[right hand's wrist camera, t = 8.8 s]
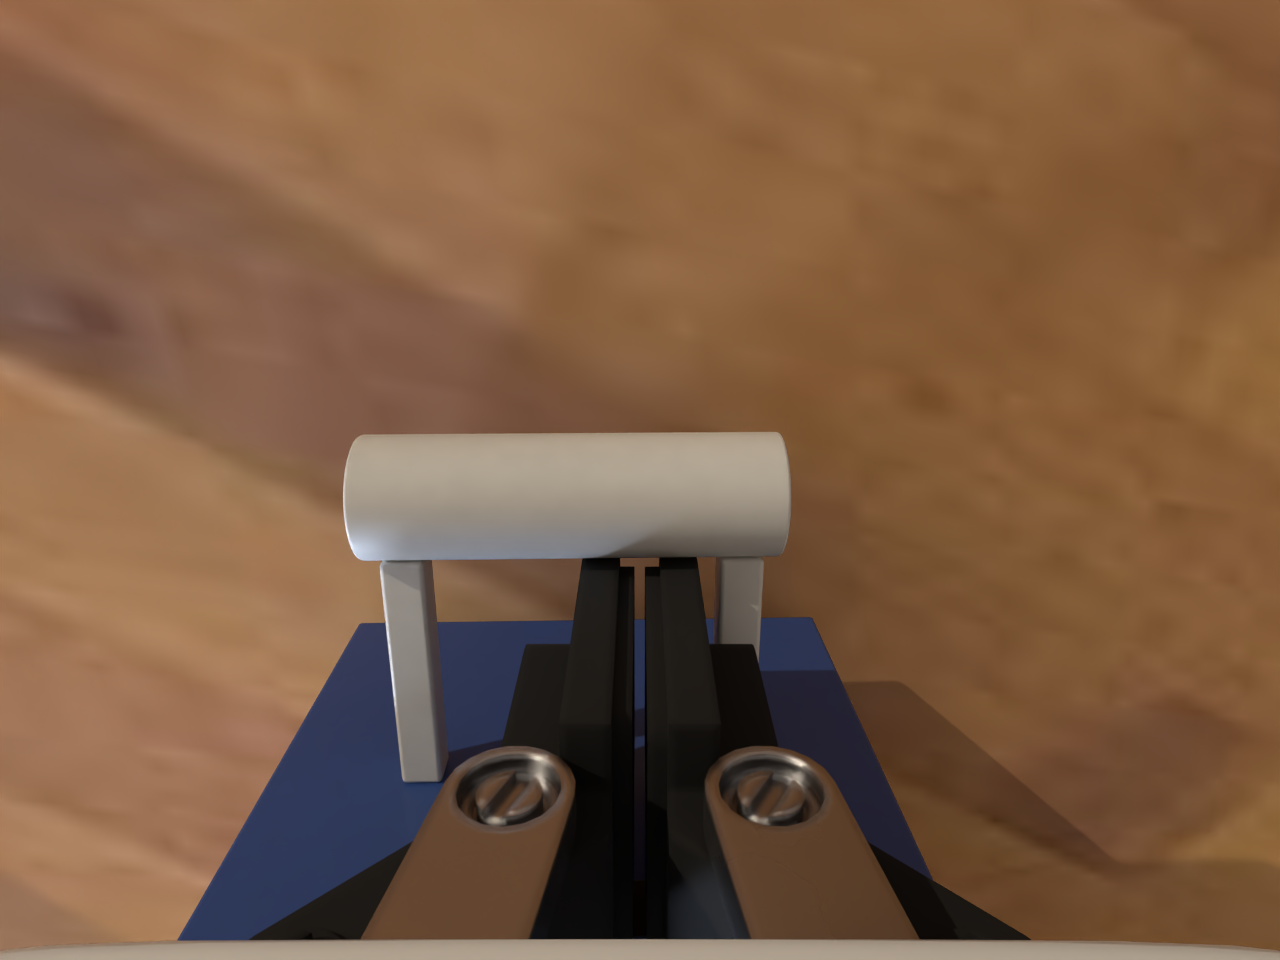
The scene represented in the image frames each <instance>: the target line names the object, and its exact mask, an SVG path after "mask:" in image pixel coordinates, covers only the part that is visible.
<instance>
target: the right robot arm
mask: <svg viewBox="0 0 1280 960" xmlns="http://www.w3.org/2000/svg"><path fill="white" fill-rule="evenodd" d="M634 769H635V619H634V567H620V558H583V559H582V566H581V573H580V580H579V586H578V593H577V600H576V607H575V614H574V621H573V628H572V634H571V641H570V644H527V645H526V646H525V649H524V653H523V657H522V661H521V665H520V669H519V674H518V678H517V682H516V686H515V690H514V695H513V699H512V703H511V707H510V711H509V715H508V720H507V724H506V728H505V732H504V736H503V741H502V745H501V748H496V749H491V750H487V751H485V752H482V753H480V754H478V755H475V756H473V757H471V758H469V759H468V760H466V761H465V762H463V763H462V764H461V765H459V766H458V767H457V768H455V769H454V771H453V772H452V773H451V775H450V776H449V777H448V778H447V780H446V781H445V783H444V784H443V786H442V788H441V790H440V792H439V794H438V796H437V797H436V799H435V801H434V803H433V805H432V807H431V809H430V811H429V812H428V814H427V816H426V818H425V820H424V822H423V824H422V825H421V827H420V829H419V831H418V833H417V835H416V837H415V838H414V840H413V841H412V842H410V843H409V844H407V845H405V846H404V847H402V848H400V849H399V850H397V851H395V852H394V853H392V854H390V855H389V856H387V857H385V858H384V859H382V860H380V861H379V862H377V863H375V864H373V865H372V866H370V867H368V868H367V869H365V870H363V871H362V872H360V873H358V874H357V875H355V876H353V877H352V878H350V879H348V880H347V881H345V882H343V883H342V884H340V885H338V886H337V887H335V888H333V889H332V890H330V891H328V892H327V893H325V894H323V895H322V896H320V897H318V898H316V899H315V900H313V901H311V902H310V903H308V904H306V905H305V906H303V907H301V908H300V909H298V910H296V911H295V912H293V913H291V914H290V915H288V916H286V917H285V918H283V919H281V920H280V921H278V922H276V923H275V924H273V925H271V926H270V927H268V928H266V929H265V930H263V931H261V932H259V933H258V934H256V935H254V936H253V937H252V938H250V939H249V940H215V941H149V942H122V943H96V944H70V945H45V946H36V947H27V948H18V949H9V950H0V960H1280V950H1271V949H1262V948H1253V947H1244V946H1235V945H1210V944H1184V943H1158V942H1131V941H1065V940H1031V939H1029V938H1028V937H1027V936H1025V935H1023V934H1022V933H1020V932H1018V931H1017V930H1015V929H1013V928H1012V927H1010V926H1008V925H1007V924H1005V923H1003V922H1002V921H1000V920H998V919H997V918H995V917H993V916H992V915H990V914H988V913H986V912H985V911H983V910H981V909H980V908H978V907H976V906H975V905H973V904H971V903H970V902H968V901H966V900H965V899H963V898H961V897H960V896H958V895H956V894H955V893H953V892H951V891H950V890H948V889H946V888H945V887H943V886H941V885H939V884H938V883H936V882H934V881H933V880H931V879H929V878H928V877H926V876H924V875H923V874H921V873H919V872H918V871H916V870H914V869H913V868H911V867H909V866H908V865H906V864H904V863H903V862H901V861H899V860H898V859H896V858H894V857H892V856H891V855H889V854H887V853H886V852H884V851H882V850H881V849H879V848H877V847H876V846H874V845H872V844H871V843H869V842H867V840H866V838H865V837H864V835H863V833H862V831H861V829H860V827H859V825H858V824H857V822H856V820H855V818H854V816H853V814H852V812H851V811H850V809H849V807H848V805H847V803H846V801H845V799H844V797H843V796H842V794H841V792H840V790H839V788H838V786H837V784H836V783H835V781H834V780H833V778H832V777H831V776H830V775H829V773H828V772H827V771H826V769H825V768H823V767H822V766H821V765H819V764H818V763H817V762H815V761H814V760H812V759H811V758H809V757H807V756H805V755H802V754H800V753H798V752H795V751H793V750H789V749H784V748H779V747H778V743H777V739H776V735H775V730H774V726H773V722H772V718H771V714H770V710H769V705H768V701H767V697H766V693H765V689H764V684H763V680H762V676H761V672H760V668H759V663H758V659H757V655H756V651H755V648H754V645H753V644H709V639H708V632H707V625H706V618H705V611H704V604H703V598H702V591H701V584H700V577H699V570H698V563H697V558H696V557H660V558H659V567H645V829H646V932H647V939H633V878H634Z"/></svg>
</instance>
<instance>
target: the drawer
mask: <svg viewBox="0 0 1280 960" xmlns="http://www.w3.org/2000/svg"><path fill="white" fill-rule="evenodd" d="M343 507H344V520H345V526H346V532H347V536H348V540H349V543H350V546H351V548H352V551H353V553H354V554H355V556H356V557H357V558H359V559H361V560H364V561H381V560H383V561H382V562H381V564H380V576H381V585H382V595H383V604H384V613H385V623H361V624H359V626H358V628H357V629H356V631H355V633H354V635H353V636H352V638H351V640H350V642H349V643H348V645H347V647H346V648H345V650H344V652H343V654H342V655H341V657H340V659H339V661H338V662H337V664H336V666H335V668H334V669H333V671H332V673H331V674H330V676H329V678H328V680H327V681H326V683H325V685H324V687H323V688H322V690H321V692H320V694H319V695H318V697H317V699H316V701H315V702H314V704H313V706H312V707H311V709H310V711H309V713H308V714H307V716H306V718H305V720H304V721H303V723H302V725H301V727H300V728H299V730H298V732H297V734H296V735H295V737H294V739H293V740H292V742H291V744H290V746H289V747H288V749H287V751H286V753H285V754H284V756H283V758H282V760H281V761H280V763H279V765H278V766H277V768H276V770H275V772H274V773H273V775H272V777H271V779H270V780H269V782H268V784H267V786H266V787H265V789H264V791H263V793H262V794H261V796H260V798H259V799H258V801H257V803H256V805H255V806H254V808H253V810H252V812H251V813H250V815H249V817H248V819H247V820H246V822H245V824H244V825H243V827H242V829H241V831H240V832H239V834H238V836H237V838H236V839H235V841H234V843H233V845H232V846H231V848H230V850H229V852H228V853H227V855H226V857H225V858H224V860H223V862H222V864H221V865H220V867H219V869H218V871H217V872H216V874H215V876H214V878H213V879H212V881H211V883H210V884H209V886H208V888H207V890H206V891H205V893H204V895H203V897H202V898H201V900H200V902H199V904H198V905H197V907H196V909H195V911H194V912H193V914H192V916H191V917H190V919H189V921H188V923H187V924H186V926H185V928H184V930H183V931H182V933H181V935H180V937H179V938H178V940H177V941H215V940H249V939H250V938H252V937H253V936H254V935H256V934H258V933H259V932H261V931H263V930H265V929H266V928H268V927H270V926H271V925H273V924H275V923H276V922H278V921H280V920H281V919H283V918H285V917H286V916H288V915H290V914H291V913H293V912H295V911H296V910H298V909H300V908H301V907H303V906H305V905H306V904H308V903H310V902H311V901H313V900H315V899H316V898H318V897H320V896H322V895H323V894H325V893H327V892H328V891H330V890H332V889H333V888H335V887H337V886H338V885H340V884H342V883H343V882H345V881H347V880H348V879H350V878H352V877H353V876H355V875H357V874H358V873H360V872H362V871H363V870H365V869H367V868H368V867H370V866H372V865H373V864H375V863H377V862H379V861H380V860H382V859H384V858H385V857H387V856H389V855H390V854H392V853H394V852H395V851H397V850H399V849H400V848H402V847H404V846H405V845H407V844H409V843H410V842H412V841H413V840H414V838H415V837H416V835H417V833H418V831H419V829H420V827H421V825H422V824H423V822H424V820H425V818H426V816H427V814H428V812H429V811H430V809H431V807H432V805H433V803H434V801H435V799H436V797H437V796H438V794H439V792H440V790H441V788H442V786H443V784H444V783H445V781H446V780H447V778H448V777H449V776H450V775H451V773H452V772H453V771H454V769H455V768H457V767H458V766H459V765H461V764H462V763H463V762H465V761H466V760H468V759H469V758H471V757H473V756H475V755H478V754H480V753H482V752H485V751H487V750H491V749H496V748H501V745H502V741H503V736H504V732H505V728H506V724H507V720H508V715H509V711H510V707H511V703H512V699H513V695H514V690H515V686H516V682H517V678H518V674H519V669H520V665H521V661H522V657H523V653H524V649H525V646H526V645H527V644H570V641H571V634H572V628H573V621H574V620H568V621H492V622H437V616H436V604H435V593H434V581H433V569H432V560H472V559H562V558H653V557H716V573H715V602H714V619H706V625H707V632H708V639H709V644H753V645H754V648H755V651H756V655H757V659H758V663H759V668H760V672H761V676H762V680H763V684H764V689H765V693H766V697H767V701H768V705H769V710H770V714H771V718H772V722H773V726H774V730H775V735H776V739H777V743H778V747H779V748H784V749H789V750H793V751H795V752H798V753H800V754H802V755H805V756H807V757H809V758H811V759H812V760H814V761H815V762H817V763H818V764H819V765H821V766H822V767H823V768H825V769H826V771H827V772H828V773H829V775H830V776H831V777H832V778H833V780H834V781H835V783H836V784H837V786H838V788H839V790H840V792H841V794H842V796H843V797H844V799H845V801H846V803H847V805H848V807H849V809H850V811H851V812H852V814H853V816H854V818H855V820H856V822H857V824H858V825H859V827H860V829H861V831H862V833H863V835H864V837H865V838H866V840H867V842H869V843H871V844H872V845H874V846H876V847H877V848H879V849H881V850H882V851H884V852H886V853H887V854H889V855H891V856H892V857H894V858H896V859H898V860H899V861H901V862H903V863H904V864H906V865H908V866H909V867H911V868H913V869H914V870H916V871H918V872H919V873H921V874H923V875H924V876H926V877H928V878H929V879H931V880H933V879H932V877H931V874H930V872H929V870H928V868H927V866H926V864H925V861H924V859H923V857H922V855H921V853H920V851H919V849H918V846H917V844H916V842H915V840H914V838H913V836H912V833H911V831H910V829H909V827H908V825H907V823H906V820H905V818H904V816H903V814H902V812H901V810H900V807H899V805H898V803H897V801H896V799H895V797H894V794H893V792H892V790H891V788H890V786H889V784H888V781H887V779H886V777H885V775H884V773H883V771H882V768H881V766H880V764H879V762H878V760H877V758H876V755H875V753H874V751H873V749H872V747H871V745H870V742H869V740H868V738H867V736H866V734H865V732H864V729H863V727H862V725H861V723H860V721H859V719H858V716H857V714H856V712H855V710H854V708H853V706H852V703H851V701H850V699H849V697H848V695H847V693H846V690H845V688H844V686H843V684H842V682H841V680H840V677H839V675H838V673H837V671H836V669H835V667H834V664H833V662H832V660H831V658H830V656H829V654H828V651H827V649H826V647H825V645H824V643H823V641H822V638H821V636H820V634H819V632H818V630H817V628H816V625H815V623H814V621H813V619H812V618H810V617H796V618H761V609H762V590H763V572H764V561H763V559H762V556H779V555H781V554H782V553H783V551H784V549H785V547H786V543H787V540H788V535H789V528H790V518H791V476H790V466H789V459H788V453H787V448H786V445H785V442H784V439H783V437H782V435H781V434H780V433H777V432H673V433H523V434H372V435H361V436H359V437H357V438H356V439H355V441H354V442H353V444H352V446H351V449H350V452H349V455H348V459H347V463H346V468H345V475H344V486H343ZM633 939H647V932H646V829H645V619H644V620H635V769H634V878H633Z"/></svg>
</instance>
